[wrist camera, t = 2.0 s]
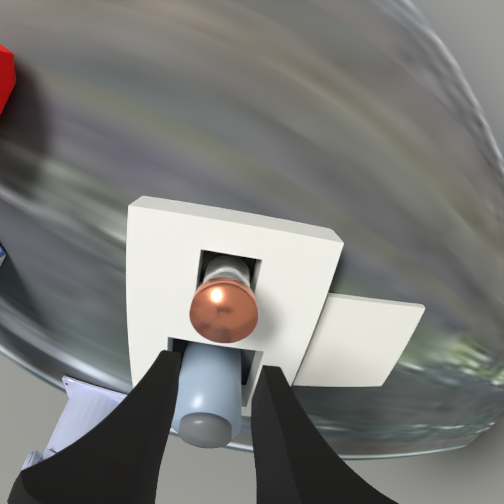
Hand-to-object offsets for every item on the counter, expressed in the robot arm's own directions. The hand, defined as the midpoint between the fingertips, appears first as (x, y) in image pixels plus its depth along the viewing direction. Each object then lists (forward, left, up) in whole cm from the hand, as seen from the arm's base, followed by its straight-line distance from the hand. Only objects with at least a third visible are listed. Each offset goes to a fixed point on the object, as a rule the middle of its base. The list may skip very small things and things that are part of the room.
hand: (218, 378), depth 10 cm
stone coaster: (-5, -11, -10) cm, 16 cm away
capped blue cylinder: (-8, 0, -10) cm, 13 cm away
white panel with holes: (-4, 0, -10) cm, 11 cm away
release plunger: (0, 0, -8) cm, 8 cm away
